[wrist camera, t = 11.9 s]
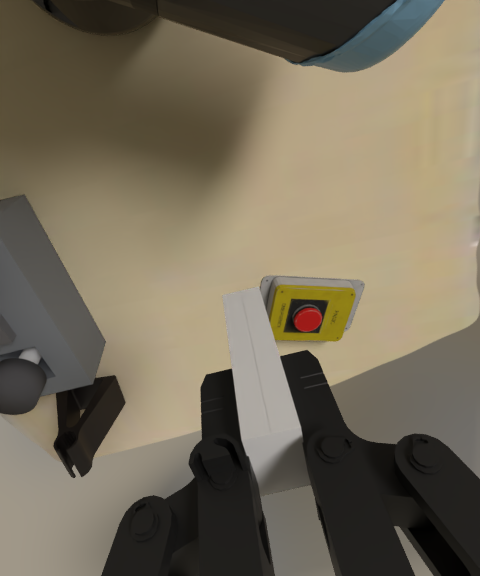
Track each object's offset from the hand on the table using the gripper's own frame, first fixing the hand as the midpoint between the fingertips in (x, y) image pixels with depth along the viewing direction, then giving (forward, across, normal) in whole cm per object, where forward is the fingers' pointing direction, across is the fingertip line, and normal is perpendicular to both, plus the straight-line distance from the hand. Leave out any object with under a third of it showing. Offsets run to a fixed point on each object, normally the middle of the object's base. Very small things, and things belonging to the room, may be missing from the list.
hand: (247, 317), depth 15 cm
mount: (+29, -27, -10) cm, 41 cm away
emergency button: (+30, +8, -23) cm, 39 cm away
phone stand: (+30, -27, -30) cm, 50 cm away
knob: (+27, -27, -16) cm, 42 cm away
